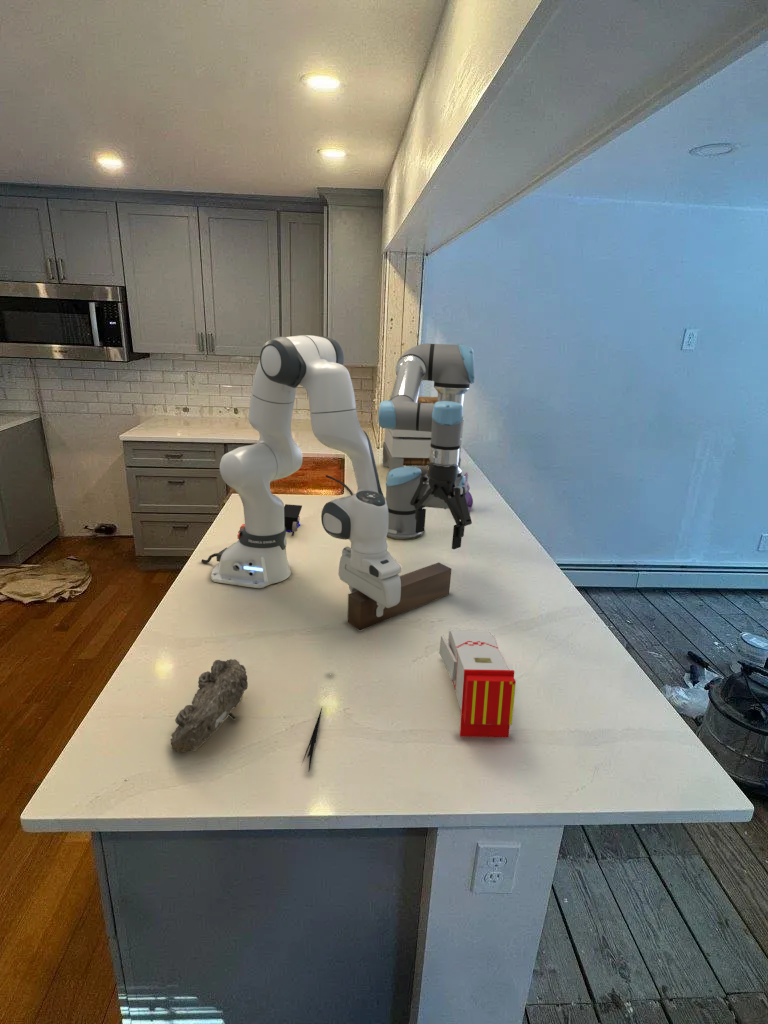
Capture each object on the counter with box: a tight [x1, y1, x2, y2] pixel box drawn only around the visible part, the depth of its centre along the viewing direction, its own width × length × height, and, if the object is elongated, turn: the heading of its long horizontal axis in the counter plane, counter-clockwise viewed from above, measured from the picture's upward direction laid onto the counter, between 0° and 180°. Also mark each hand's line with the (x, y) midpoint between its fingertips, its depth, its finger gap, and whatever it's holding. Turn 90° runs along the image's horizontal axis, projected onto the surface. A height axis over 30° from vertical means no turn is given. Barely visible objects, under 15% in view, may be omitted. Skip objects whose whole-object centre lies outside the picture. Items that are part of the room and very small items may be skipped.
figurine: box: [463, 472, 474, 512], centre depth 225 cm, size 9×10×15 cm
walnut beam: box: [347, 562, 453, 632], centre depth 149 cm, size 5×32×8 cm, turn 131°
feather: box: [301, 673, 332, 771], centre depth 108 cm, size 2×28×2 cm
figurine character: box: [284, 503, 303, 537], centre depth 197 cm, size 7×8×15 cm
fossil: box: [170, 658, 249, 753], centre depth 106 cm, size 22×10×15 cm
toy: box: [438, 628, 517, 738], centre depth 117 cm, size 12×13×30 cm
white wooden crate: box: [381, 396, 464, 473], centre depth 268 cm, size 34×33×41 cm
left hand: (367, 608), depth 142 cm, fingers open, 7 cm apart
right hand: (437, 539), depth 153 cm, fingers open, 13 cm apart
